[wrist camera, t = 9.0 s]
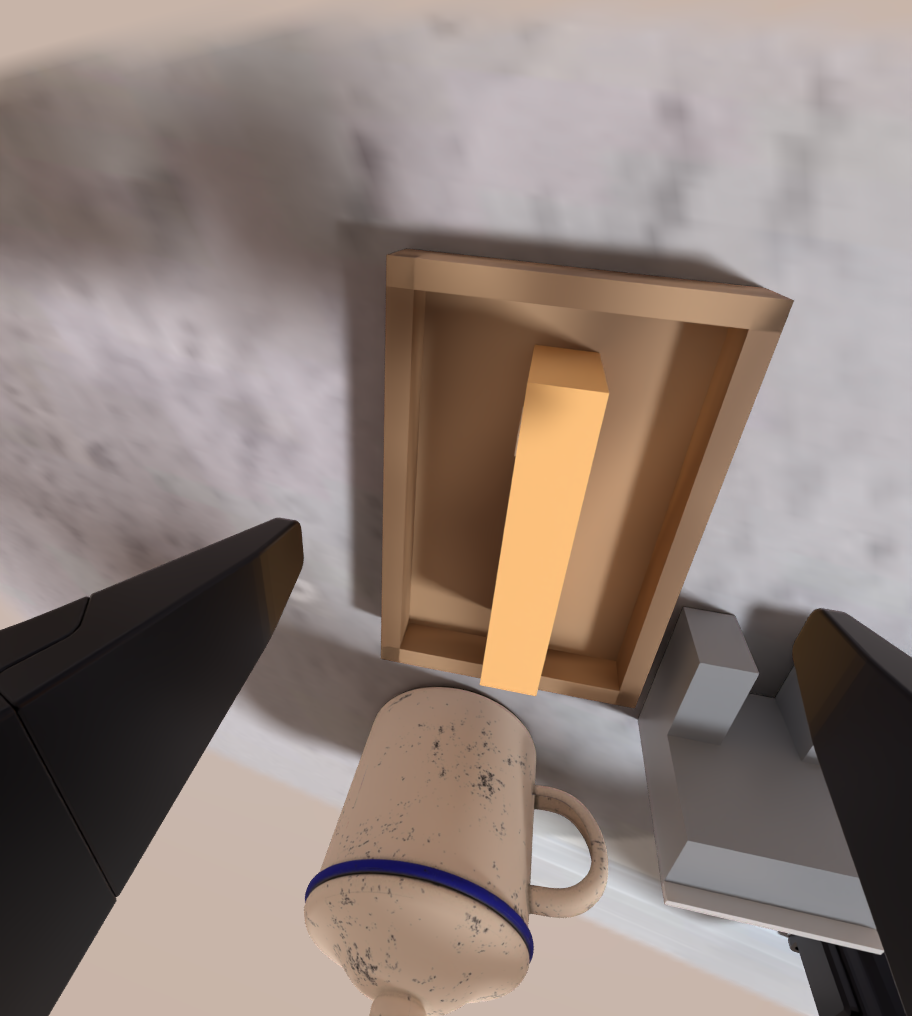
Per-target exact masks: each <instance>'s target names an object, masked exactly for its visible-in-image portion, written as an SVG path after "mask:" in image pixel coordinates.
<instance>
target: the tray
mask: <svg viewBox="0 0 912 1016" xmlns="http://www.w3.org/2000/svg"><path fill="white" fill-rule="evenodd" d="M793 302H794V300H792V299H789V298H787V297H785V296H782V295H780V294H778V293H776V292H773V291H771V290H769V289H766V288H760V287H751V286H742V285H733V284H724V283H715V282H706V281H697V280H688V279H679V278H669V277H660V276H651V275H642V274H633V273H624V272H615V271H606V270H597V269H588V268H579V267H570V266H561V265H552V264H542V263H533V262H524V261H515V260H506V259H497V258H488V257H479V256H470V255H461V254H452V253H443V252H434V251H424V250H415V249H404V250H400V251H397V252H394V253H391V254H388V255H386V325H385V397H384V469H383V542H382V614H381V659H384V660H389V661H394V662H399V663H405V664H410V665H415V666H420V667H425V668H430V669H435V670H440V671H445V672H451V673H456V674H461V675H466V676H471V677H476V678H481V674H482V668H483V662H484V655H485V649H486V643H487V636H488V630H489V624H490V617H491V611H492V604H493V598H494V592H495V585H496V579H497V573H498V566H499V560H500V554H501V547H502V541H503V534H504V528H505V522H506V515H507V509H508V503H509V496H510V490H511V484H512V477H513V471H514V465H515V458H516V456H514V454H515V448H516V442H517V435H518V430H519V425H520V420H521V414H522V409H523V407H524V401H525V395H526V388H527V382H528V377H529V372H530V366H531V361H532V356H533V351H534V346H535V345H542V346H550V347H558V348H566V349H573V350H581V351H589V352H597V353H600V357H601V361H602V365H603V370H604V374H605V378H606V382H607V386H608V390H609V396H608V400H607V405H606V409H605V413H604V417H603V421H602V425H601V429H600V434H599V438H598V442H597V446H596V450H595V454H594V458H593V463H592V467H591V471H590V475H589V479H588V483H587V487H586V492H585V496H584V500H583V504H582V508H581V512H580V516H579V521H578V525H577V529H576V533H575V537H574V541H573V545H572V550H571V554H570V558H569V562H568V566H567V570H566V574H565V579H564V583H563V587H562V591H561V595H560V599H559V603H558V608H557V612H556V616H555V620H554V624H553V628H552V632H551V637H550V641H549V645H548V649H547V653H546V657H545V661H544V666H543V670H542V674H541V678H540V682H539V686H538V690H543V691H548V692H553V693H558V694H563V695H568V696H573V697H578V698H584V699H589V700H594V701H599V702H604V703H609V704H614V705H619V706H624V707H630V708H635V707H636V704H637V702H638V699H639V696H640V694H641V691H642V689H643V686H644V684H645V681H646V679H647V676H648V673H649V671H650V668H651V666H652V663H653V661H654V658H655V655H656V653H657V650H658V648H659V645H660V643H661V640H662V637H663V635H664V632H665V630H666V627H667V625H668V622H669V620H670V617H671V614H672V612H673V609H674V607H675V604H676V602H677V599H678V596H679V594H680V591H681V589H682V586H683V584H684V581H685V579H686V576H687V573H688V571H689V568H690V566H691V563H692V561H693V558H694V555H695V553H696V550H697V548H698V545H699V543H700V540H701V538H702V535H703V532H704V530H705V527H706V525H707V522H708V520H709V517H710V514H711V512H712V509H713V507H714V504H715V502H716V499H717V496H718V494H719V491H720V489H721V486H722V484H723V481H724V479H725V476H726V473H727V471H728V468H729V466H730V463H731V461H732V458H733V455H734V453H735V450H736V448H737V445H738V443H739V440H740V438H741V435H742V432H743V430H744V427H745V425H746V422H747V420H748V417H749V414H750V412H751V409H752V407H753V404H754V402H755V399H756V396H757V394H758V391H759V389H760V386H761V384H762V381H763V379H764V376H765V373H766V371H767V368H768V366H769V363H770V361H771V358H772V355H773V353H774V350H775V348H776V345H777V343H778V340H779V338H780V335H781V332H782V330H783V327H784V325H785V322H786V320H787V317H788V314H789V312H790V309H791V307H792V304H793Z"/></svg>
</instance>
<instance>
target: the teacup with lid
mask: <svg viewBox="0 0 912 1016" xmlns="http://www.w3.org/2000/svg"><path fill="white" fill-rule="evenodd" d="M535 772H536V751H535V746H534V743H533V740H532V738H531V736H530V734H529V732H528V731H527V729H526V728H525V726H524V725H523V724H522V723H521V721H520V720H519V719H518V718H517V717H516V716H515V715H513V714H512V713H511V712H510V711H509V710H507V709H506V708H505V707H503V706H501V705H500V704H498V703H496V702H495V701H493V700H491V699H489V698H486V697H484V696H482V695H479V694H476V693H473V692H469V691H466V690H461V689H455V688H447V687H427V688H420V689H415V690H411V691H408V692H405V693H403V694H400V695H398V696H396V697H395V698H393V699H391V700H390V701H389V702H387V703H386V704H385V705H384V706H383V707H382V708H381V710H380V711H379V712H378V714H377V716H376V718H375V720H374V723H373V726H372V729H371V731H370V734H369V737H368V740H367V742H366V745H365V748H364V751H363V753H362V756H361V759H360V762H359V765H358V767H357V770H356V773H355V776H354V778H353V781H352V784H351V787H350V789H349V792H348V795H347V798H346V801H345V803H344V806H343V809H342V812H341V814H340V817H339V820H338V823H337V826H336V829H335V831H334V834H333V836H332V839H331V842H330V845H329V848H328V850H327V853H326V856H325V859H324V862H323V864H322V867H321V870H320V872H319V873H318V874H317V875H316V876H315V877H314V878H313V879H312V880H311V882H310V883H309V885H308V887H307V890H306V894H305V907H304V916H305V924H306V927H307V930H308V933H309V935H310V937H311V938H312V940H313V941H314V943H315V944H316V945H317V947H318V948H319V949H320V950H321V951H322V952H323V953H324V954H325V955H326V956H327V957H329V958H330V959H331V960H332V961H334V962H335V963H336V964H338V965H339V966H341V967H342V968H343V969H344V970H345V972H346V973H347V975H348V977H349V978H350V980H351V981H352V983H353V984H354V985H355V987H356V988H357V989H358V990H359V991H360V992H361V993H362V994H363V995H365V996H366V997H368V998H369V999H371V1000H372V1001H373V1003H372V1006H371V1011H370V1015H369V1016H440V1015H445V1014H448V1013H450V1012H452V1011H455V1010H456V1009H458V1008H460V1007H461V1006H463V1005H465V1004H467V1003H475V1002H483V1001H489V1000H493V999H497V998H500V997H502V996H505V995H507V994H508V993H510V992H512V991H513V990H514V989H515V988H516V987H518V985H520V983H521V982H522V980H523V979H524V977H525V975H526V973H527V971H528V968H529V964H530V962H531V959H532V956H533V950H534V949H533V948H534V946H533V939H532V935H531V933H530V930H529V928H528V920H529V914H536V915H542V916H548V917H557V918H567V917H573V916H577V915H580V914H582V913H584V912H586V911H588V910H589V909H590V908H591V907H593V906H594V905H595V904H596V903H597V902H598V901H599V899H600V898H601V896H602V895H603V892H604V890H605V887H606V884H607V878H608V856H607V850H606V845H605V841H604V838H603V835H602V833H601V830H600V828H599V826H598V824H597V822H596V821H595V819H594V817H593V816H592V814H591V813H590V812H589V810H588V809H587V808H586V807H585V806H584V805H583V804H582V803H581V802H580V801H579V800H578V799H576V798H575V797H574V796H572V795H570V794H569V793H567V792H564V791H562V790H559V789H556V788H552V787H547V786H541V785H535ZM534 809H539V810H545V811H550V812H554V813H557V814H560V815H562V816H564V817H565V818H567V819H568V820H570V821H571V822H572V823H573V824H574V825H575V826H576V827H577V829H578V830H579V831H580V833H581V834H582V836H583V838H584V839H585V841H586V844H587V846H588V849H589V852H590V856H591V861H592V863H591V867H590V870H589V873H588V874H587V876H586V877H585V878H584V879H583V880H582V881H580V882H579V883H578V884H576V885H574V886H571V887H568V888H547V887H541V886H534V885H530V879H531V858H532V837H533V816H534Z"/></svg>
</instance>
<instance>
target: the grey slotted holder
mask: <svg viewBox="0 0 912 1016" xmlns="http://www.w3.org/2000/svg"><path fill="white" fill-rule="evenodd" d="M758 675H759V672H758V669H757V667H756V664H755V662H754V660H753V657H752V655H751V652H750V650H749V648H748V645H747V643H746V640H745V638H744V636H743V633H742V631H741V628H740V626H739V624H738V621H737V619H736V616H734V615H728V614H722V613H716V612H711V611H705V610H699V609H693V608H688V607H683V609H682V611H681V614H680V616H679V619H678V621H677V624H676V626H675V629H674V631H673V634H672V636H671V639H670V641H669V644H668V646H667V649H666V651H665V654H664V656H663V659H662V661H661V664H660V666H659V669H658V671H657V674H656V676H655V679H654V681H653V684H652V686H651V689H650V691H649V694H648V696H647V699H646V701H645V704H644V706H643V709H642V711H641V714H640V716H639V719H638V725H639V731H640V738H641V745H642V752H643V759H644V766H645V773H646V780H647V787H648V794H649V801H650V808H651V814H652V821H653V828H654V835H655V842H656V849H657V856H658V863H659V870H660V877H661V884H662V891H663V898H664V904H665V905H669V906H673V907H677V908H682V909H686V910H690V911H695V912H699V913H703V914H708V915H712V916H716V917H720V918H725V919H729V920H733V921H738V922H742V923H746V924H751V925H755V926H759V927H763V928H768V929H772V930H776V931H781V932H785V933H789V934H794V935H798V936H802V937H806V938H811V939H815V940H819V941H824V942H828V943H832V944H837V945H841V946H845V947H849V948H854V949H858V950H862V951H867V952H871V953H875V954H880V955H881V954H882V953H883V952H884V950H883V947H882V944H881V941H880V938H879V935H878V933H877V931H876V927H875V924H874V921H873V918H872V915H871V912H870V909H869V906H868V903H867V901H866V898H865V895H864V892H863V889H862V886H861V883H860V880H859V877H858V875H857V872H856V869H855V866H854V863H853V860H852V857H851V854H850V851H849V848H848V846H847V843H846V840H845V837H844V834H843V831H842V828H841V825H840V822H839V820H838V817H837V814H836V811H835V808H834V805H833V802H832V799H831V796H830V793H829V791H828V788H827V785H826V782H825V779H824V776H823V773H822V770H821V767H820V765H819V762H818V759H817V756H816V753H815V749H814V746H813V743H812V740H811V736H810V732H809V728H808V724H807V720H806V715H805V711H804V706H803V702H802V697H801V693H800V688H799V684H798V679H797V675H796V670H795V666H794V667H793V668H792V670H791V672H790V673H789V675H788V677H787V678H786V680H785V682H784V684H783V685H782V687H781V689H780V690H779V692H778V694H777V695H776V697H775V698H771V697H765V696H760V695H755V694H749V692H750V690H751V688H752V686H753V684H754V682H755V681H756V679H757V677H758Z"/></svg>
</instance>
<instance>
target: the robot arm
mask: <svg viewBox="0 0 912 1016" xmlns="http://www.w3.org/2000/svg"><path fill="white" fill-rule="evenodd" d="M303 561H304V554H303V543H302V531H301V526H300V523H299V522H298V521H296V520H290V519H285V518H275V519H272V520H270V521H267V522H265V523H262V524H260V525H258V526H255V527H253V528H250V529H248V530H246V531H243V532H241V533H238V534H236V535H234V536H231V537H229V538H226V539H224V540H221V541H219V542H217V543H214V544H212V545H209V546H207V547H205V548H202V549H200V550H197V551H195V552H192V553H190V554H188V555H185V556H183V557H180V558H178V559H176V560H173V561H171V562H168V563H166V564H163V565H161V566H159V567H156V568H154V569H151V570H149V571H147V572H144V573H142V574H139V575H137V576H134V577H132V578H130V579H127V580H125V581H122V582H120V583H118V584H115V585H113V586H110V587H108V588H105V589H103V590H101V591H98V592H96V593H93V594H92V595H91V596H90V598H89V597H83V598H81V599H79V600H76V601H74V602H72V603H69V604H67V605H64V606H62V607H59V608H57V609H54V610H52V611H49V612H47V613H44V614H42V615H39V616H37V617H34V618H32V619H29V620H27V621H24V622H21V623H19V624H16V625H13V626H10V627H8V628H5V629H2V630H0V1016H49V1014H50V1012H51V1011H52V1009H53V1007H54V1006H55V1004H56V1002H57V1001H58V999H59V997H60V996H61V994H62V992H63V990H64V989H65V987H66V985H67V984H68V982H69V980H70V979H71V977H72V975H73V973H74V972H75V970H76V968H77V967H78V965H79V963H80V962H81V960H82V958H83V957H84V955H85V953H86V952H87V950H88V948H89V946H90V945H91V943H92V941H93V940H94V938H95V936H96V935H97V933H98V931H99V929H100V928H101V926H102V924H103V923H104V921H105V919H106V918H107V916H108V914H109V912H110V911H111V909H112V907H113V906H114V904H115V902H116V897H117V896H119V895H120V893H121V891H122V890H123V888H124V886H125V884H126V883H127V881H128V880H129V878H130V876H131V875H132V873H133V871H134V869H135V868H136V866H137V864H138V863H139V861H140V859H141V858H142V856H143V854H144V852H145V851H146V849H147V847H148V846H149V844H150V842H151V840H152V839H153V837H154V836H155V834H156V832H157V830H158V829H159V827H160V825H161V824H162V822H163V820H164V819H165V817H166V815H167V813H168V812H169V810H170V808H171V807H172V805H173V803H174V802H175V800H176V798H177V797H178V795H179V793H180V792H181V790H182V788H183V786H184V785H185V783H186V781H187V780H188V778H189V776H190V775H191V773H192V771H193V769H194V768H195V766H196V764H197V763H198V761H199V759H200V758H201V756H202V754H203V753H204V751H205V749H206V747H207V746H208V744H209V742H210V741H211V739H212V737H213V736H214V734H215V732H216V731H217V729H218V727H219V725H220V724H221V722H222V720H223V719H224V717H225V715H226V714H227V712H228V710H229V708H230V707H231V705H232V703H233V702H234V700H235V698H236V697H237V695H238V693H239V692H240V690H241V688H242V686H243V685H244V683H245V681H246V680H247V678H248V676H249V675H250V673H251V671H252V670H253V668H254V666H255V664H256V663H257V661H258V659H259V658H260V656H261V654H262V653H263V651H264V649H265V647H266V646H267V644H268V642H269V640H270V638H271V637H272V634H273V632H274V630H275V628H276V626H277V624H278V622H279V619H280V617H281V615H282V613H283V610H284V608H285V606H286V603H287V601H288V599H289V597H290V594H291V592H292V590H293V588H294V585H295V583H296V581H297V579H298V576H299V574H300V572H301V569H302V566H303ZM792 656H793V662H794V666H795V670H796V675H797V679H798V684H799V688H800V693H801V697H802V702H803V706H804V711H805V715H806V720H807V724H808V728H809V732H810V736H811V740H812V743H813V746H814V749H815V753H816V756H817V759H818V762H819V765H820V767H821V770H822V773H823V776H824V779H825V782H826V785H827V788H828V791H829V793H830V796H831V799H832V802H833V805H834V808H835V811H836V814H837V817H838V820H839V822H840V825H841V828H842V831H843V834H844V837H845V840H846V843H847V846H848V848H849V851H850V854H851V857H852V860H853V863H854V866H855V869H856V872H857V875H858V877H859V880H860V883H861V886H862V889H863V892H864V895H865V898H866V901H867V903H868V906H869V909H870V912H871V915H872V918H873V921H874V924H875V927H876V931H877V933H878V935H879V938H880V941H881V944H882V947H883V950H884V952H883V953H882V954H881V955H880V954H875V953H871V952H867V951H862V950H858V949H854V948H849V947H845V946H841V945H837V944H832V943H828V942H824V941H819V940H815V939H811V938H806V937H802V936H798V935H794V934H792V935H791V936H790V937H789V938H788V943H789V946H790V949H791V950H792V951H794V952H797V953H800V956H801V959H802V962H803V966H804V969H805V972H806V975H807V978H808V981H809V985H810V988H811V991H812V994H813V997H814V1001H815V1004H816V1007H817V1010H818V1013H819V1016H912V657H910V656H909V655H907V654H906V653H904V652H903V651H901V650H900V649H898V648H897V647H895V646H894V645H893V644H891V643H890V642H888V641H887V640H885V639H884V638H882V637H881V636H879V635H878V634H876V633H875V632H873V631H872V630H870V629H869V628H868V627H866V626H865V625H863V624H862V623H860V622H859V621H857V620H856V619H854V618H853V617H851V616H850V615H848V614H847V613H844V612H841V611H835V610H829V609H823V608H819V609H816V610H814V611H813V612H812V613H811V614H810V616H809V618H808V619H807V621H806V623H805V624H804V626H803V628H802V630H801V631H800V633H799V635H798V637H797V638H796V640H795V642H794V645H793V650H792Z"/></svg>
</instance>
